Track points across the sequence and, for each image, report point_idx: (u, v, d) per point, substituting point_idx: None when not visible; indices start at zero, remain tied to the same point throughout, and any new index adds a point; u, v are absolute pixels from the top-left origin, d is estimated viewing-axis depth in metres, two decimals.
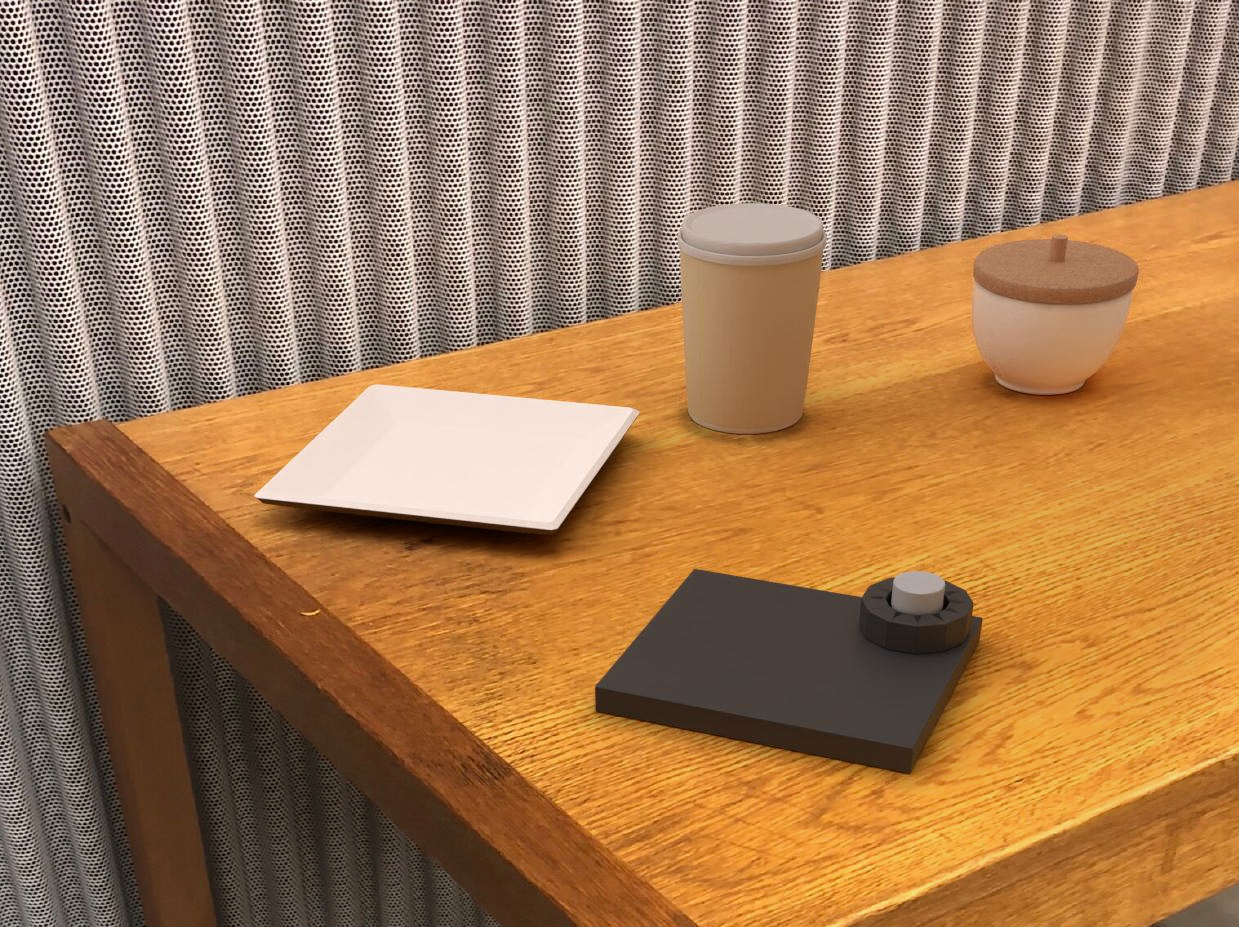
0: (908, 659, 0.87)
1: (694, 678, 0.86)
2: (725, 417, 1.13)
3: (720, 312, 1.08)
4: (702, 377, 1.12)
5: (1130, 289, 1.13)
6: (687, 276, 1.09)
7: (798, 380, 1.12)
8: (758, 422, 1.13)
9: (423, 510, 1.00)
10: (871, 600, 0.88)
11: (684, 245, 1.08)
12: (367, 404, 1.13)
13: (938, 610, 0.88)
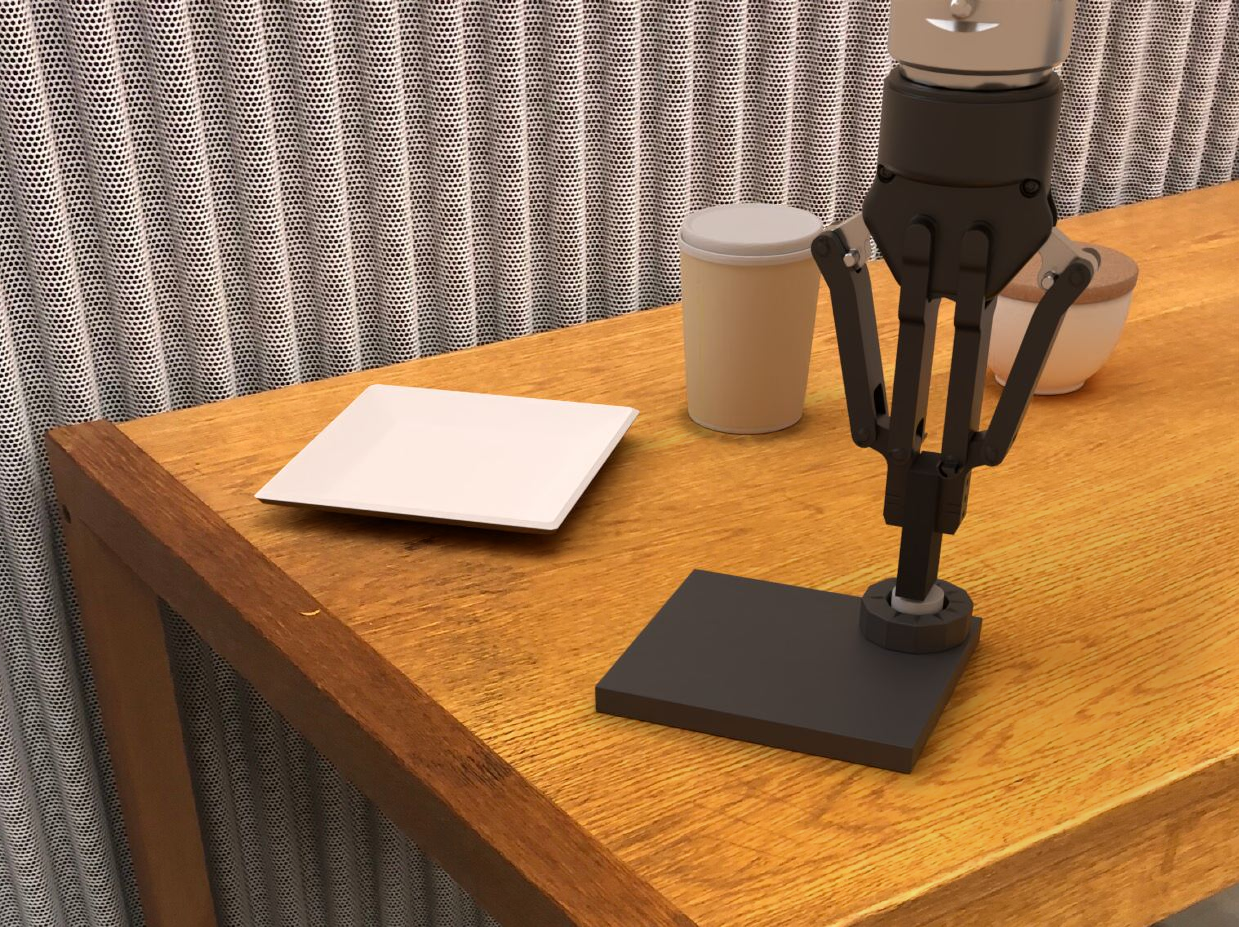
0: (908, 659, 0.87)
1: (694, 678, 0.86)
2: (725, 417, 1.13)
3: (720, 312, 1.08)
4: (702, 377, 1.12)
5: (1130, 289, 1.13)
6: (687, 276, 1.09)
7: (798, 380, 1.12)
8: (758, 422, 1.13)
9: (423, 510, 1.00)
10: (871, 600, 0.88)
11: (684, 245, 1.08)
12: (367, 404, 1.13)
13: None
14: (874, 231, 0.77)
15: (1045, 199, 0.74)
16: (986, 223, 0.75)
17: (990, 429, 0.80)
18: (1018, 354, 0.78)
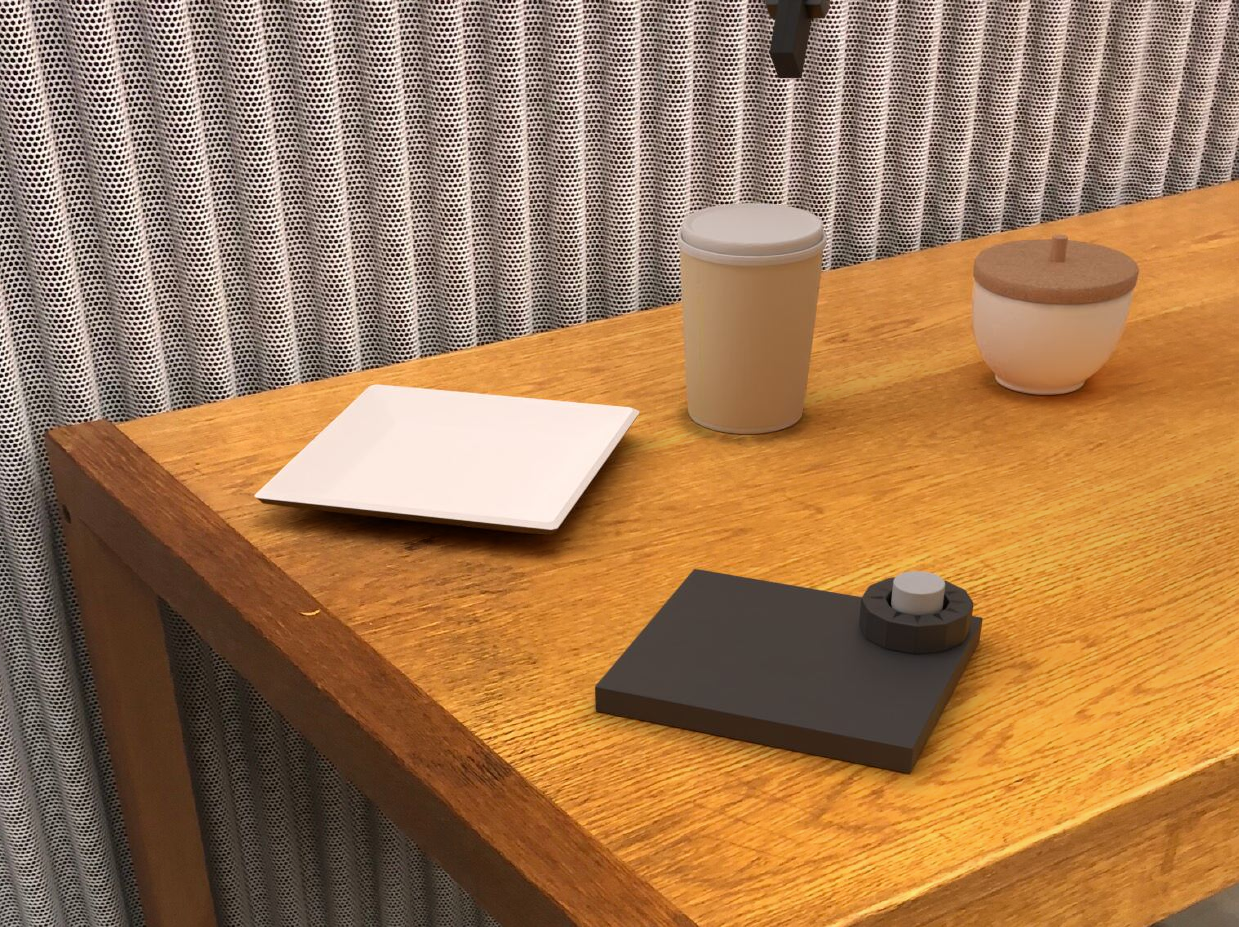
0: (908, 659, 0.87)
1: (694, 678, 0.86)
2: (725, 417, 1.13)
3: (720, 312, 1.08)
4: (702, 377, 1.12)
5: (1130, 289, 1.13)
6: (687, 276, 1.09)
7: (798, 380, 1.12)
8: (758, 422, 1.13)
9: (423, 510, 1.00)
10: (871, 600, 0.88)
11: (684, 245, 1.08)
12: (367, 404, 1.13)
13: (938, 610, 0.88)
14: None
15: None
16: None
17: None
18: None
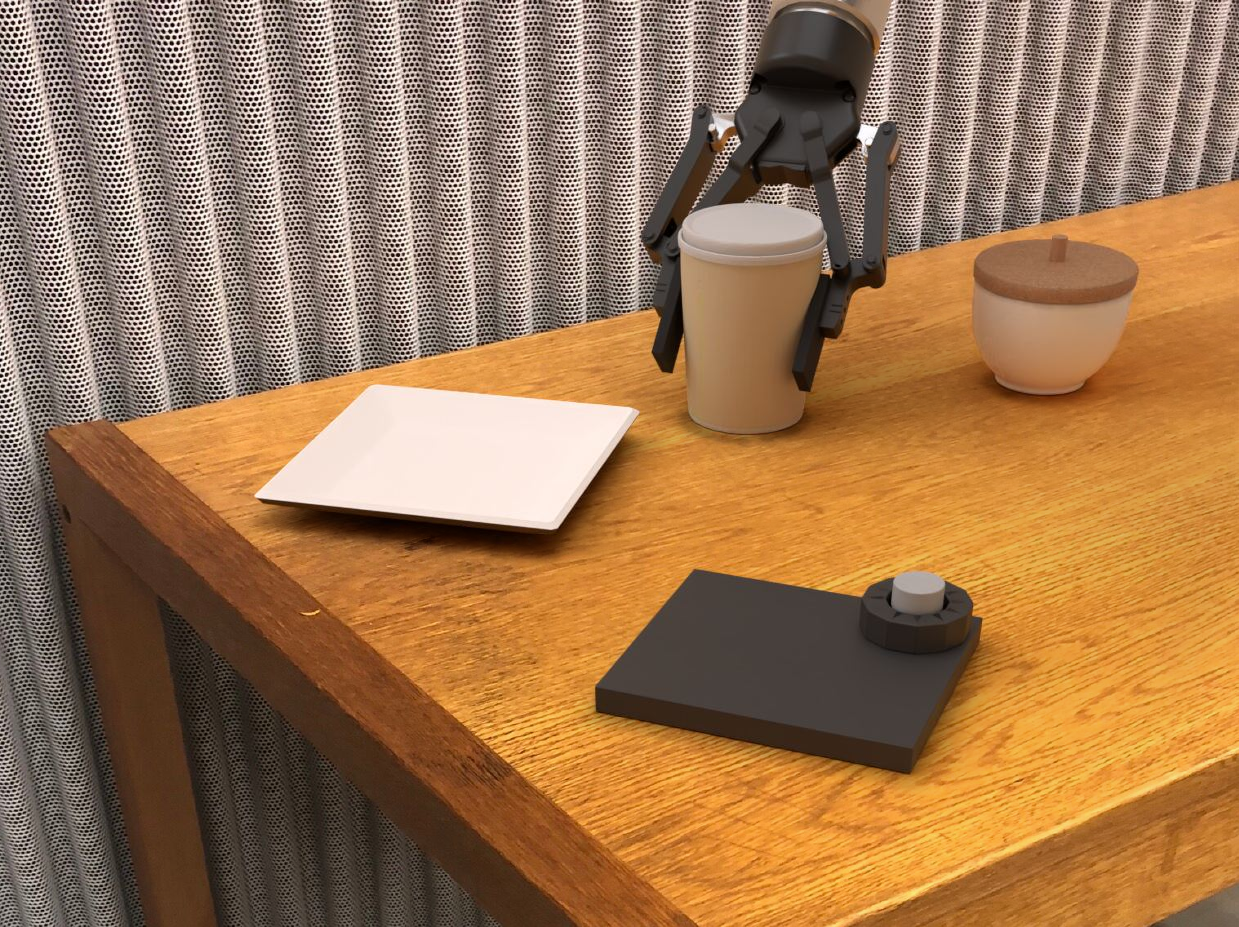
0: (908, 659, 0.87)
1: (694, 678, 0.86)
2: (725, 417, 1.13)
3: (720, 312, 1.08)
4: (702, 377, 1.12)
5: (1130, 289, 1.13)
6: (687, 276, 1.09)
7: None
8: (758, 423, 1.13)
9: (423, 510, 1.00)
10: (871, 600, 0.88)
11: (684, 245, 1.08)
12: (367, 404, 1.13)
13: (938, 610, 0.88)
14: (737, 120, 1.12)
15: (857, 109, 1.11)
16: (817, 116, 1.11)
17: (864, 244, 1.09)
18: (866, 190, 1.09)
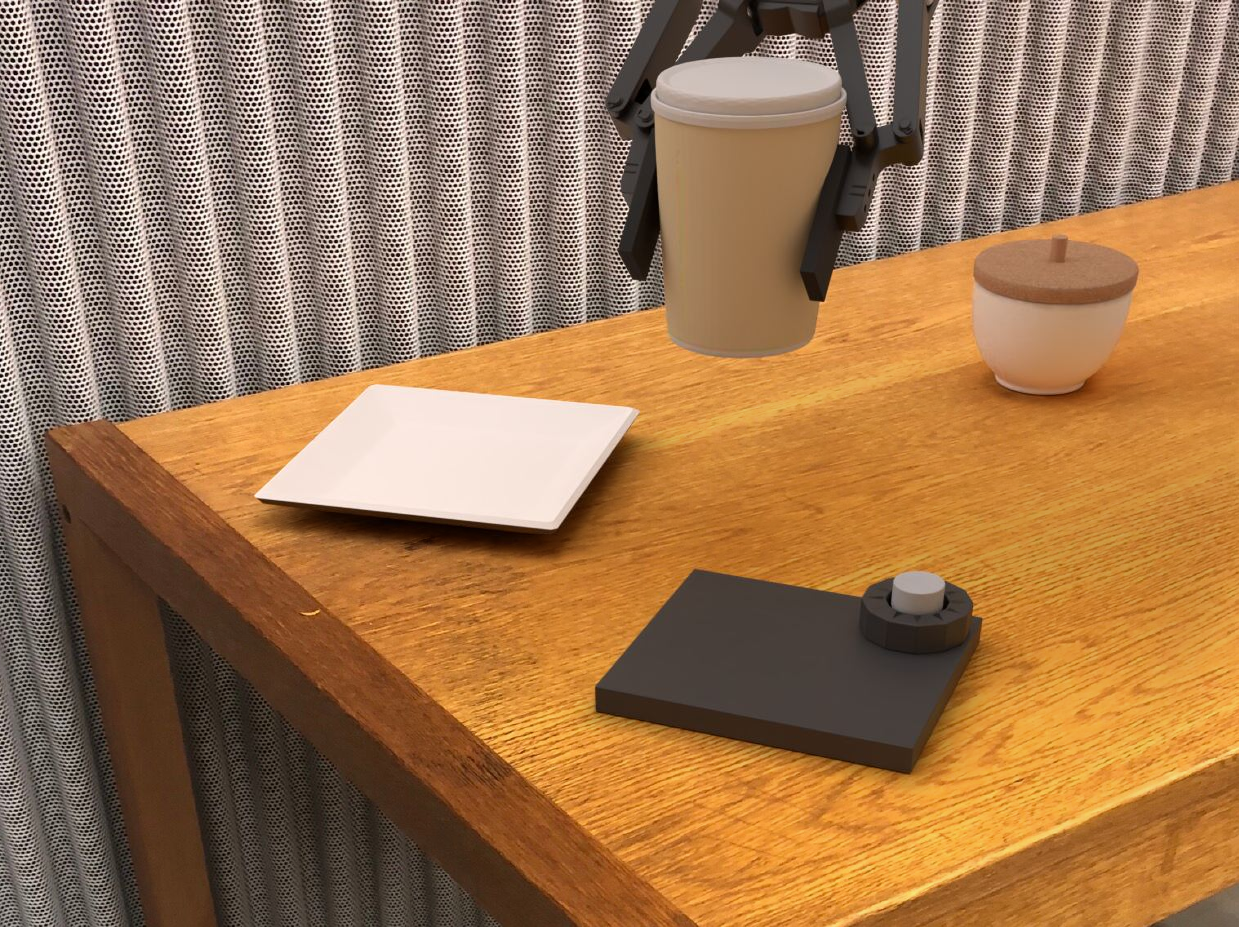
0: (908, 659, 0.87)
1: (694, 678, 0.86)
2: (713, 336, 0.87)
3: (706, 195, 0.83)
4: (684, 283, 0.86)
5: (1130, 289, 1.13)
6: (663, 148, 0.83)
7: None
8: (757, 343, 0.87)
9: (423, 510, 1.00)
10: (871, 600, 0.88)
11: (659, 105, 0.82)
12: (367, 404, 1.13)
13: (938, 610, 0.88)
14: None
15: None
16: None
17: (896, 105, 0.83)
18: (898, 35, 0.83)
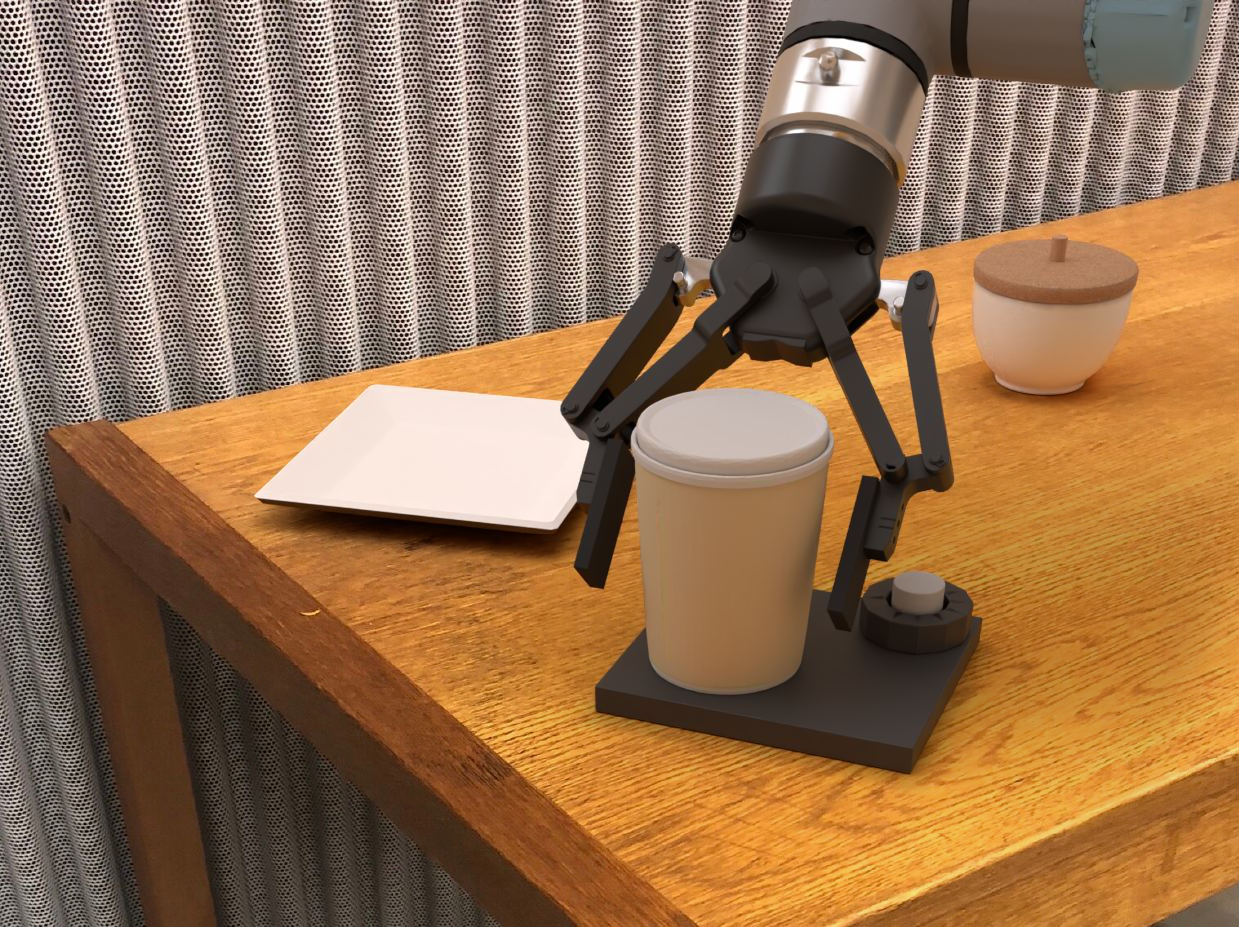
0: (908, 659, 0.87)
1: None
2: (697, 674, 0.84)
3: (688, 545, 0.79)
4: (666, 621, 0.83)
5: (1130, 289, 1.13)
6: (643, 494, 0.80)
7: (795, 625, 0.83)
8: (741, 681, 0.84)
9: (423, 510, 1.00)
10: (871, 600, 0.88)
11: (639, 455, 0.79)
12: (367, 404, 1.13)
13: (938, 610, 0.88)
14: (712, 273, 0.83)
15: (876, 264, 0.82)
16: None
17: (922, 439, 0.79)
18: (908, 366, 0.80)
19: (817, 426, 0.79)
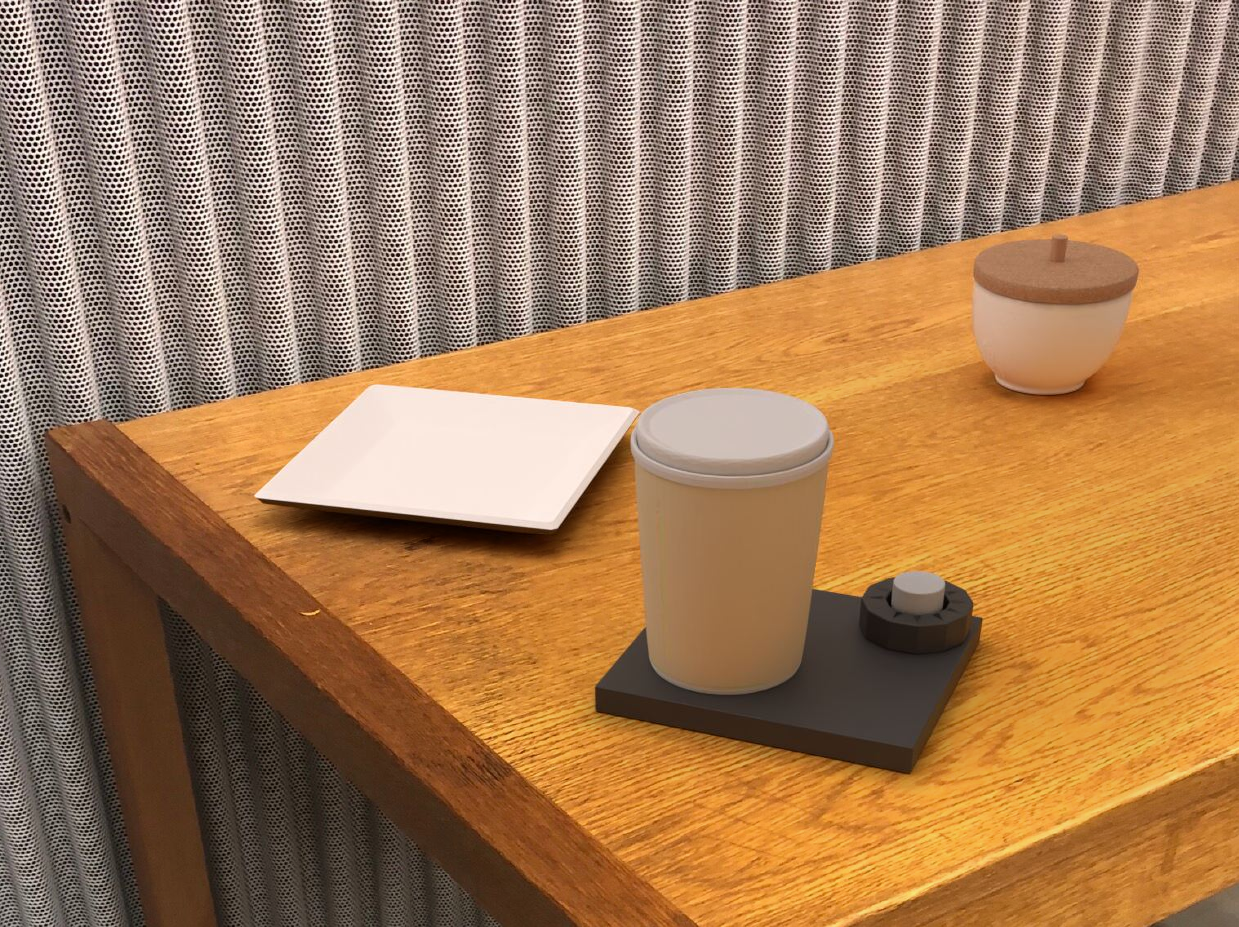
0: (908, 659, 0.87)
1: None
2: (697, 674, 0.84)
3: (688, 545, 0.79)
4: (666, 622, 0.83)
5: (1130, 289, 1.13)
6: (643, 494, 0.80)
7: (794, 625, 0.83)
8: (741, 681, 0.84)
9: (423, 510, 1.00)
10: (871, 600, 0.88)
11: (639, 455, 0.79)
12: (367, 404, 1.13)
13: (938, 610, 0.88)
14: None
15: None
16: None
17: None
18: None
19: (817, 426, 0.79)
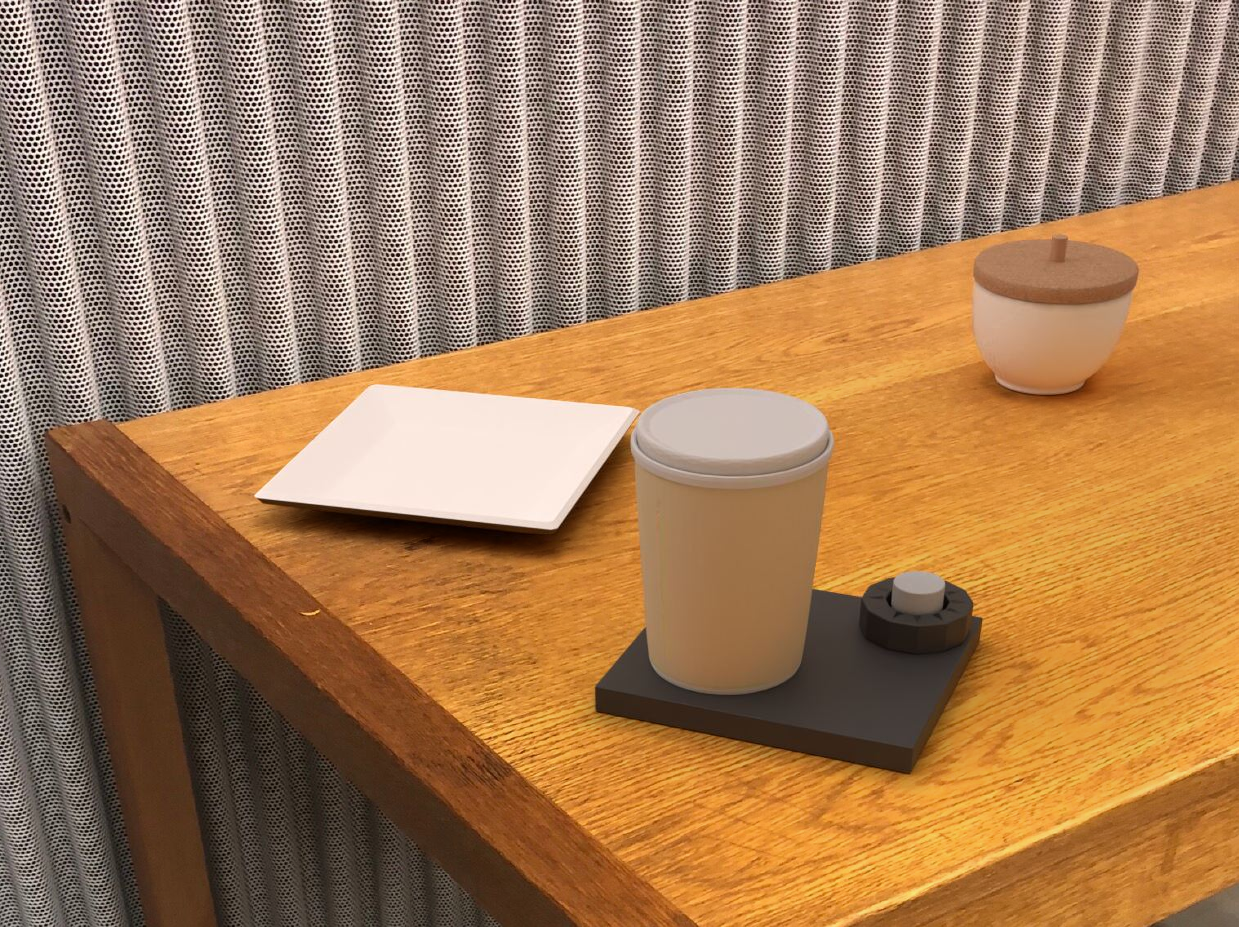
0: (908, 659, 0.87)
1: None
2: (697, 674, 0.84)
3: (688, 545, 0.79)
4: (666, 622, 0.83)
5: (1130, 289, 1.13)
6: (643, 494, 0.80)
7: (794, 625, 0.83)
8: (741, 681, 0.84)
9: (423, 510, 1.00)
10: (871, 600, 0.88)
11: (639, 455, 0.79)
12: (367, 404, 1.13)
13: (938, 610, 0.88)
14: None
15: None
16: None
17: None
18: None
19: (817, 426, 0.79)
